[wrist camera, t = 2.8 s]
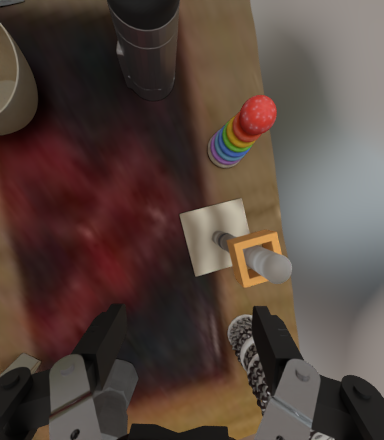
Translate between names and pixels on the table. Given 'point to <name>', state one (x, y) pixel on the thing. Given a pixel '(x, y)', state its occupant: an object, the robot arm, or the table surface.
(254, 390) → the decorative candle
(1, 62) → the beige bowl
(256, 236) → the collar
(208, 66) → the table surface
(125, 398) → the coffeepot
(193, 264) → the post stand
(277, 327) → the robot arm
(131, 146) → the table surface
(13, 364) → the skincare box
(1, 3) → the tea box
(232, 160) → the stacking toy
